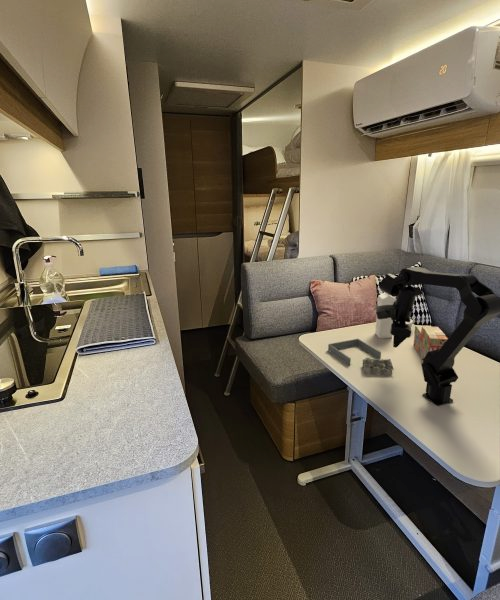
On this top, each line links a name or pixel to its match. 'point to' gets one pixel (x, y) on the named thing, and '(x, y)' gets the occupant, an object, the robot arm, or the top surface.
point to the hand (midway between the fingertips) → (394, 340)
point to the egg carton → (370, 363)
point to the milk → (384, 324)
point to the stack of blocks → (428, 339)
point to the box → (355, 342)
